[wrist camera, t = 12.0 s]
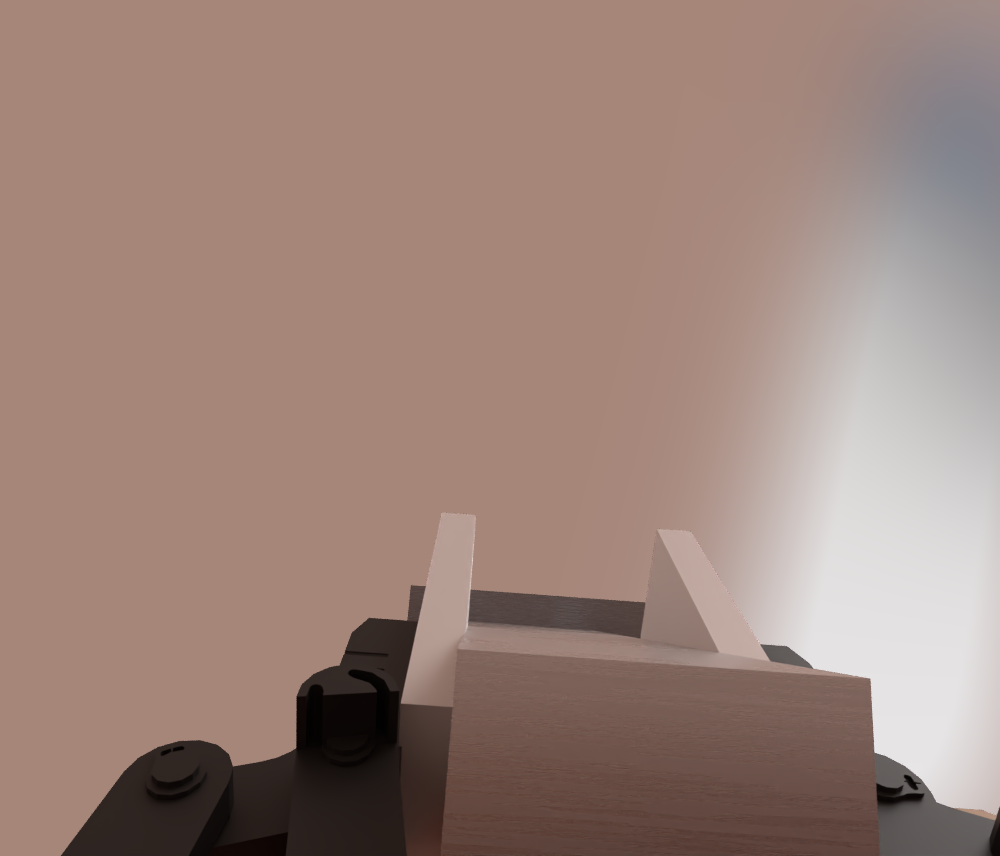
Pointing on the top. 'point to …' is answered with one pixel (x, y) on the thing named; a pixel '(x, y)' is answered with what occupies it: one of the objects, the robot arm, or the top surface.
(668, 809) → the steel bar
